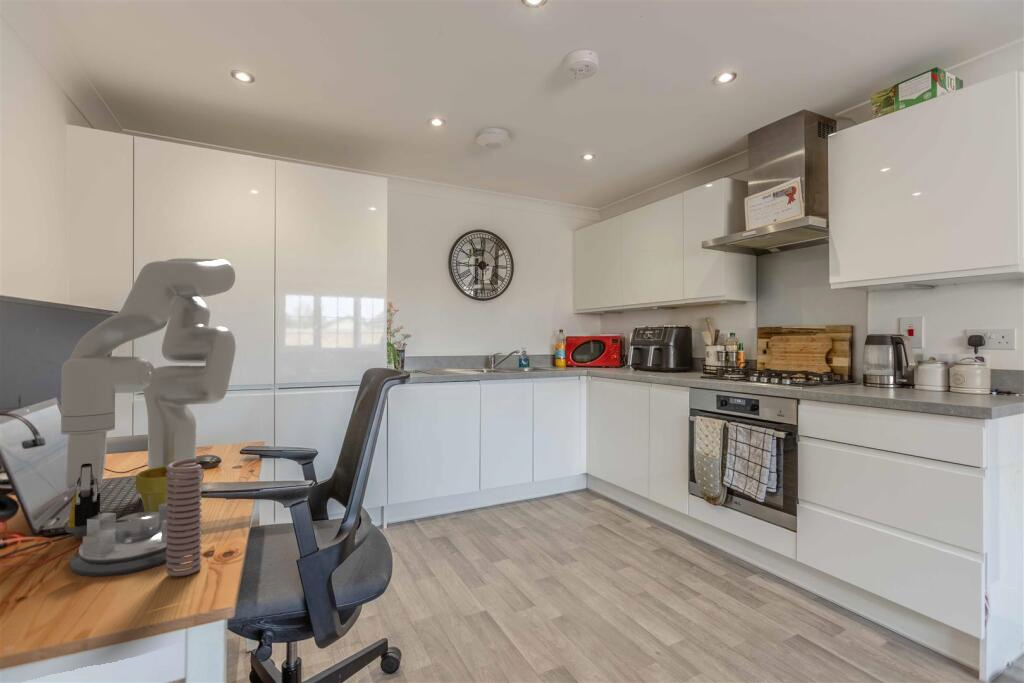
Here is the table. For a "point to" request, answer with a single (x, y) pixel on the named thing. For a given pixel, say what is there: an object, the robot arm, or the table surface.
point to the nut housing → (116, 565)
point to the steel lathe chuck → (124, 536)
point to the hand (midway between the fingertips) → (87, 518)
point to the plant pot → (153, 487)
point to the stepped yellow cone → (70, 526)
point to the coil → (183, 517)
